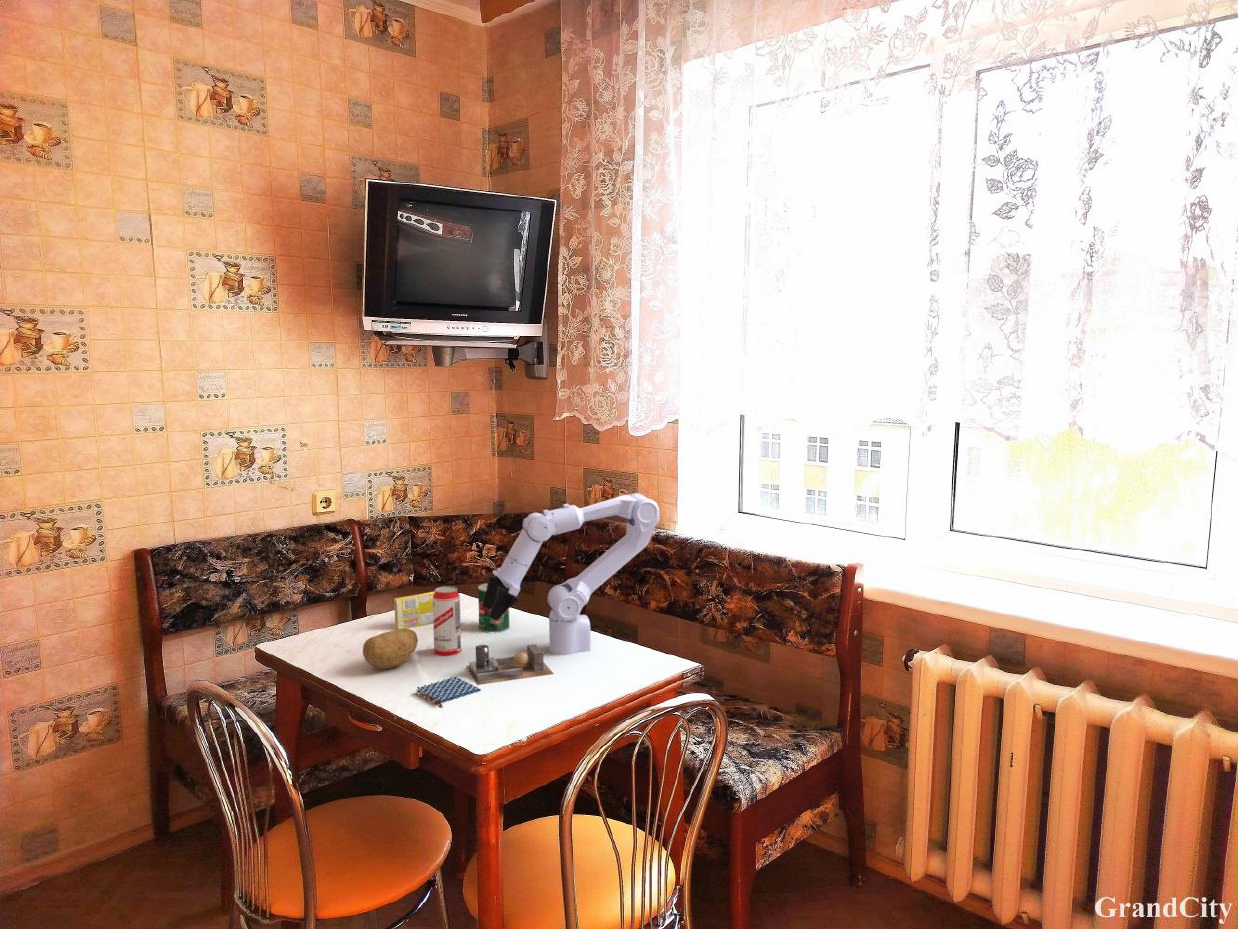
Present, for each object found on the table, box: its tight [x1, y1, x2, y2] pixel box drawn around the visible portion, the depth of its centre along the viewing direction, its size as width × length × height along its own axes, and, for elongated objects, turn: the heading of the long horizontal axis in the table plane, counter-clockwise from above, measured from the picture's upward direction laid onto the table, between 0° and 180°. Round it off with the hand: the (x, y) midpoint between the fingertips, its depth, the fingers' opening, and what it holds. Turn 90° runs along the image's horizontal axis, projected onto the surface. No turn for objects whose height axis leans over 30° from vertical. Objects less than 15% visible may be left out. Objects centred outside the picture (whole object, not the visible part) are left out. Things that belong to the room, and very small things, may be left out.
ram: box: [470, 644, 498, 679], centre depth 187 cm, size 5×6×6 cm
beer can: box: [432, 585, 462, 657], centre depth 200 cm, size 6×6×16 cm
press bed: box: [465, 643, 555, 686], centre depth 189 cm, size 17×12×5 cm
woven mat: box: [415, 676, 481, 708], centre depth 178 cm, size 10×11×2 cm
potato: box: [362, 628, 419, 669], centre depth 194 cm, size 10×14×8 cm
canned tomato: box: [477, 582, 510, 634], centre depth 221 cm, size 8×8×11 cm
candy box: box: [393, 590, 435, 630], centre depth 224 cm, size 16×2×8 cm, turn 126°
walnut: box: [513, 651, 529, 668], centre depth 190 cm, size 4×4×4 cm
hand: (489, 613), depth 196 cm, fingers open, 7 cm apart
